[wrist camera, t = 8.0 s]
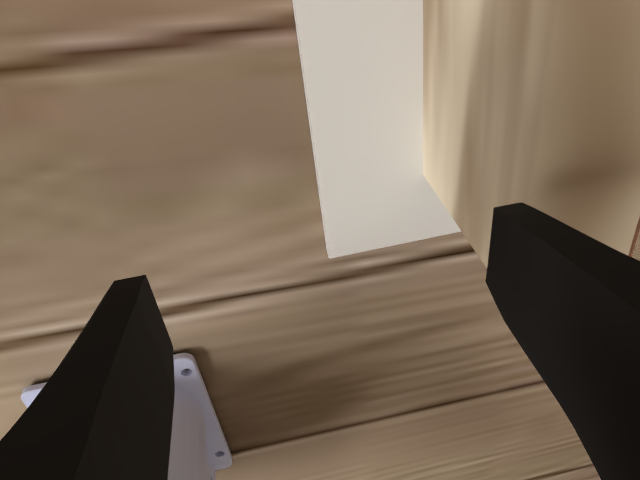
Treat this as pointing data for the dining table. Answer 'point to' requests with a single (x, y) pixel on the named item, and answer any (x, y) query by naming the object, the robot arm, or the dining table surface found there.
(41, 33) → the dining table surface
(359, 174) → the mat
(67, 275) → the dining table surface
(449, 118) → the tan wooden block
